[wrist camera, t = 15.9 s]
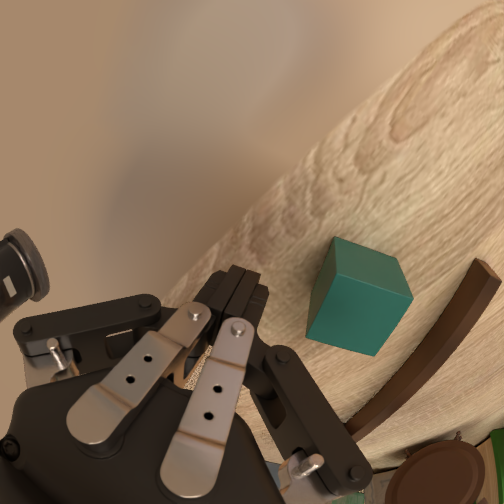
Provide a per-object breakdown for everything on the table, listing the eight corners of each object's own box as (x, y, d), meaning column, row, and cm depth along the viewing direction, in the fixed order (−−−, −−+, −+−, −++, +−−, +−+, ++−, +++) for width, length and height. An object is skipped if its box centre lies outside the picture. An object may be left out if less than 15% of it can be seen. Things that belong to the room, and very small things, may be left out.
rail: (285, 475, 37) (283, 486, 35) (278, 474, 37) (275, 485, 35) (487, 263, 14) (502, 281, 12) (475, 257, 14) (490, 275, 12)
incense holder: (403, 477, 32) (401, 520, 23) (363, 482, 34) (358, 525, 25) (417, 462, 28) (417, 512, 19) (372, 468, 30) (367, 520, 21)
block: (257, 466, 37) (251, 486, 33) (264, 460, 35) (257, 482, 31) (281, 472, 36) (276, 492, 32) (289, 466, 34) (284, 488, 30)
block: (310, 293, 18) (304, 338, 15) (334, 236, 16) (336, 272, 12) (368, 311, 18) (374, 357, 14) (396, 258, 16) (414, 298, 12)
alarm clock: (393, 462, 29) (384, 565, 11) (384, 450, 27) (371, 571, 9) (477, 432, 22) (484, 538, 5) (479, 415, 20) (490, 539, 3)
